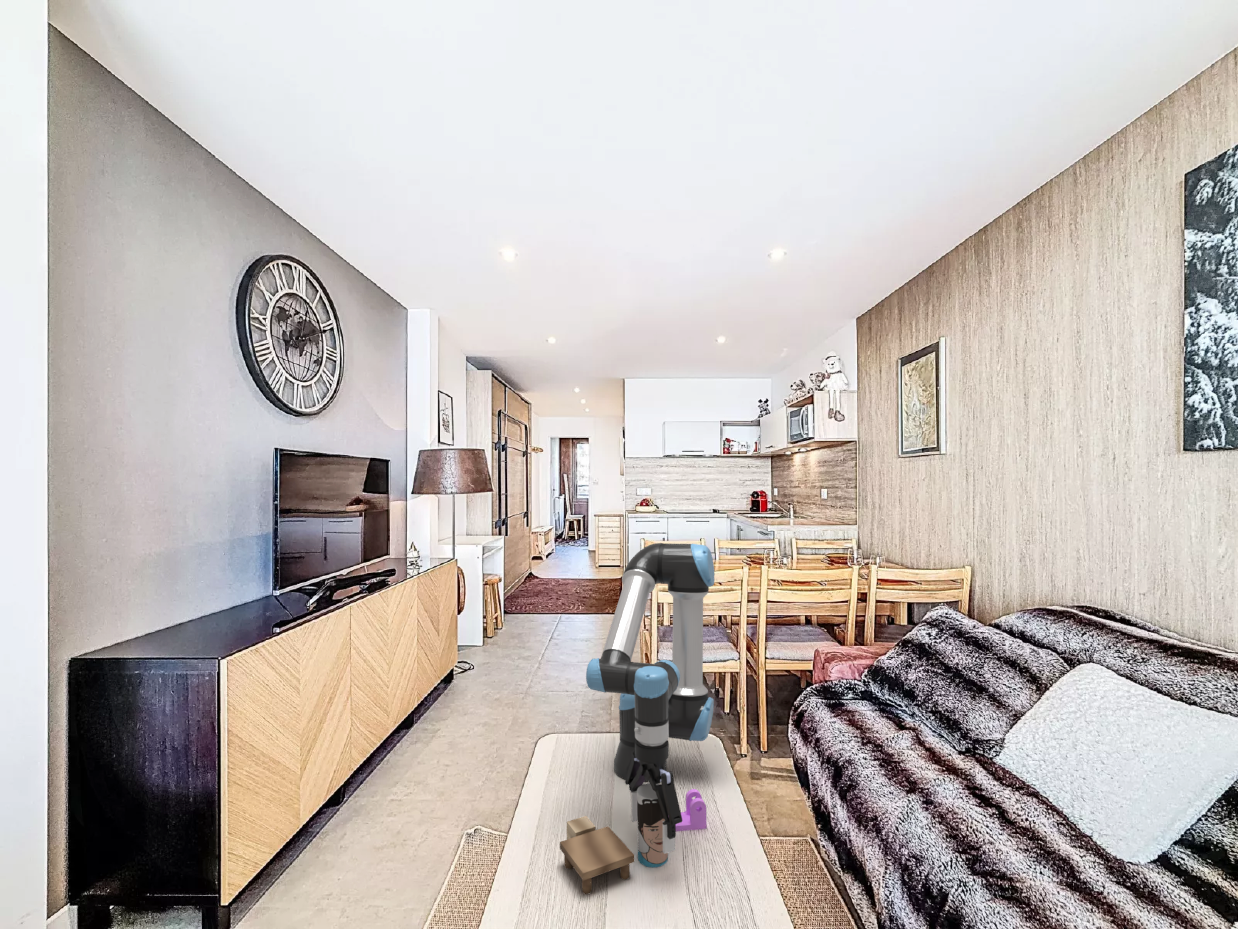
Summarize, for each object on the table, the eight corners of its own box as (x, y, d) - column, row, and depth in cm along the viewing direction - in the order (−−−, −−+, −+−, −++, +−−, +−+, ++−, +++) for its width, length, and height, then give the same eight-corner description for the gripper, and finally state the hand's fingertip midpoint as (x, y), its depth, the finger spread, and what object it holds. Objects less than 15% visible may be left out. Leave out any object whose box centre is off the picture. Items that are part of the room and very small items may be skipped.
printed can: (642, 869, 136) (641, 800, 136) (634, 850, 142) (633, 785, 142) (671, 864, 137) (671, 796, 137) (662, 846, 144) (662, 781, 144)
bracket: (700, 816, 156) (700, 788, 156) (706, 829, 151) (706, 800, 150) (649, 820, 154) (648, 792, 154) (653, 834, 149) (653, 804, 149)
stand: (608, 847, 143) (608, 826, 143) (634, 878, 133) (634, 854, 133) (560, 864, 138) (559, 841, 138) (583, 897, 127) (583, 873, 127)
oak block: (586, 836, 148) (586, 815, 148) (595, 848, 143) (595, 826, 143) (566, 843, 145) (566, 821, 145) (575, 855, 141) (575, 832, 141)
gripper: (610, 722, 149) (611, 812, 149) (668, 766, 127) (668, 871, 127) (637, 716, 152) (638, 804, 152) (698, 758, 130) (699, 860, 130)
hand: (652, 835), depth 139 cm, fingers open, 13 cm apart
